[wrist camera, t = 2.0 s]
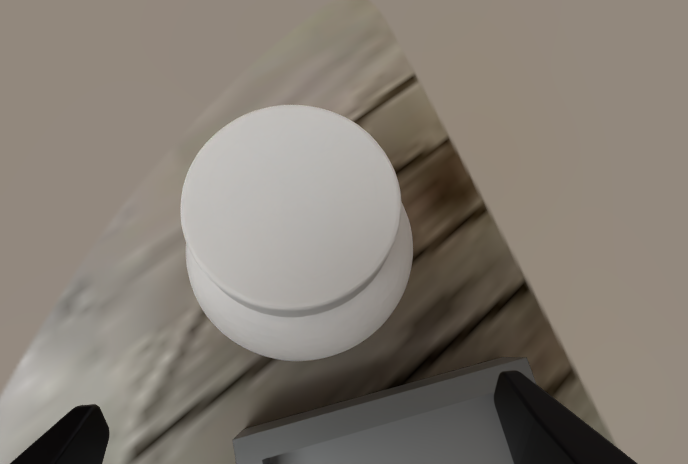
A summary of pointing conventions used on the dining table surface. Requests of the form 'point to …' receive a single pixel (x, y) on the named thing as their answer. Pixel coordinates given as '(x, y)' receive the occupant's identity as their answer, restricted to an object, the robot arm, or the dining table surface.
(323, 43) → the dining table surface
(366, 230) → the supplement bottle
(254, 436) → the tray
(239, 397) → the dining table surface
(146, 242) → the dining table surface
